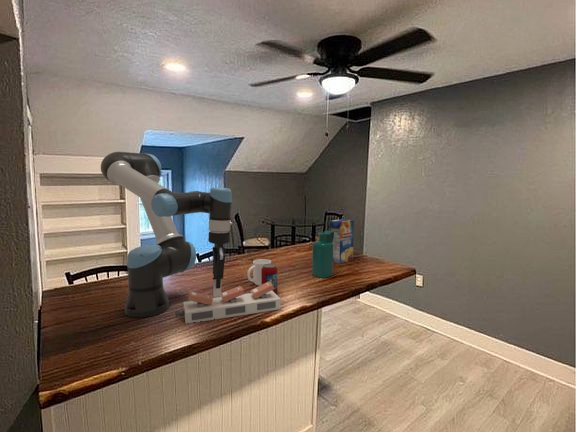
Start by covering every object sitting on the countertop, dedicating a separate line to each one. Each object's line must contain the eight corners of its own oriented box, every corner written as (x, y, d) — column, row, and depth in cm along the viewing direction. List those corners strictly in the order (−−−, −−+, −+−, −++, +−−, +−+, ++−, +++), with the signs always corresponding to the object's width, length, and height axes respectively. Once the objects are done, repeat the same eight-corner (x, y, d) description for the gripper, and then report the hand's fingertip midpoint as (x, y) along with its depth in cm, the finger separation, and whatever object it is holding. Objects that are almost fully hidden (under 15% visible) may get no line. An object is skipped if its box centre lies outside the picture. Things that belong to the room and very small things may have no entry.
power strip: (176, 325, 108) (175, 310, 107) (175, 313, 117) (174, 299, 117) (280, 309, 121) (280, 295, 121) (272, 299, 131) (272, 287, 130)
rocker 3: (255, 298, 120) (253, 294, 120) (252, 294, 124) (250, 290, 124) (274, 289, 123) (272, 284, 122) (270, 285, 127) (269, 280, 126)
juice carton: (343, 257, 197) (344, 218, 194) (353, 260, 192) (353, 220, 189) (329, 261, 190) (330, 220, 187) (339, 263, 184) (340, 222, 181)
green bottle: (322, 279, 157) (323, 234, 154) (310, 275, 163) (310, 232, 161) (336, 274, 163) (336, 231, 161) (323, 271, 170) (324, 229, 167)
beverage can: (271, 296, 134) (271, 268, 133) (258, 293, 138) (258, 266, 136) (280, 291, 140) (280, 264, 138) (267, 288, 143) (267, 262, 142)
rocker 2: (223, 302, 116) (222, 297, 116) (221, 297, 120) (220, 292, 120) (244, 294, 118) (243, 289, 118) (241, 289, 123) (240, 285, 122)
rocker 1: (188, 300, 111) (190, 294, 111) (187, 295, 116) (189, 290, 116) (211, 304, 114) (212, 299, 114) (209, 300, 119) (211, 295, 119)
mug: (252, 288, 143) (251, 266, 142) (243, 283, 150) (242, 262, 149) (274, 283, 151) (274, 261, 149) (264, 279, 157) (264, 258, 156)
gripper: (233, 234, 110) (230, 301, 112) (226, 228, 122) (224, 289, 125) (211, 234, 107) (208, 303, 110) (206, 228, 120) (204, 290, 122)
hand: (217, 295), depth 117 cm, fingers closed
